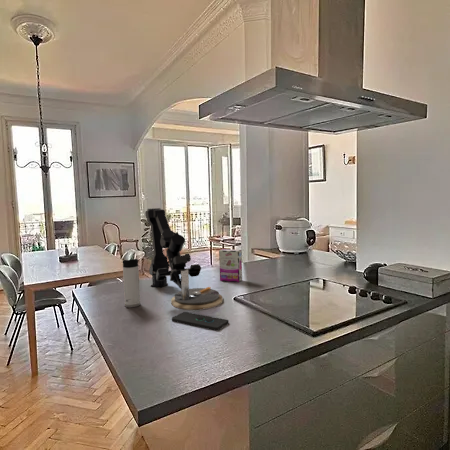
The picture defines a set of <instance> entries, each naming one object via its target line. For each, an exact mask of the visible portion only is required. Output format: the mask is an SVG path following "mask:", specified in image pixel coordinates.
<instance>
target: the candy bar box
mask: <svg viewBox="0 0 450 450" xmlns="http://www.w3.org/2000/svg"><path fill="white" fill-rule="evenodd" d="M242 254H243V253H242V249H226V248H225V249H224V248H223V249H220V250H219V251H218V255H219V257H218V258H219V259H218V260H219V281H220V282H232V283H240V282H242V281H243V258H242V257H243V255H242Z"/></svg>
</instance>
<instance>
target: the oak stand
mask: <svg viewBox="0 0 450 450" xmlns="http://www.w3.org/2000/svg"><path fill="white" fill-rule="evenodd" d="M170 302H171V303H170V304H171V305H172V306H173V307H175V308H176V309H181V310H188V311H190V310H191V311H197V310H200V311H201V310H206V309H211V308H215V307H218V306H220V305H221V304H222V303H223V296H222V295H221V294H220V293H219V299H218V300H216V301H214V302H212V303H208V304H202V305H186V304H181V303H178V302H176V301H175V295H174V296H173V297H172V298H171V300H170Z"/></svg>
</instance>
